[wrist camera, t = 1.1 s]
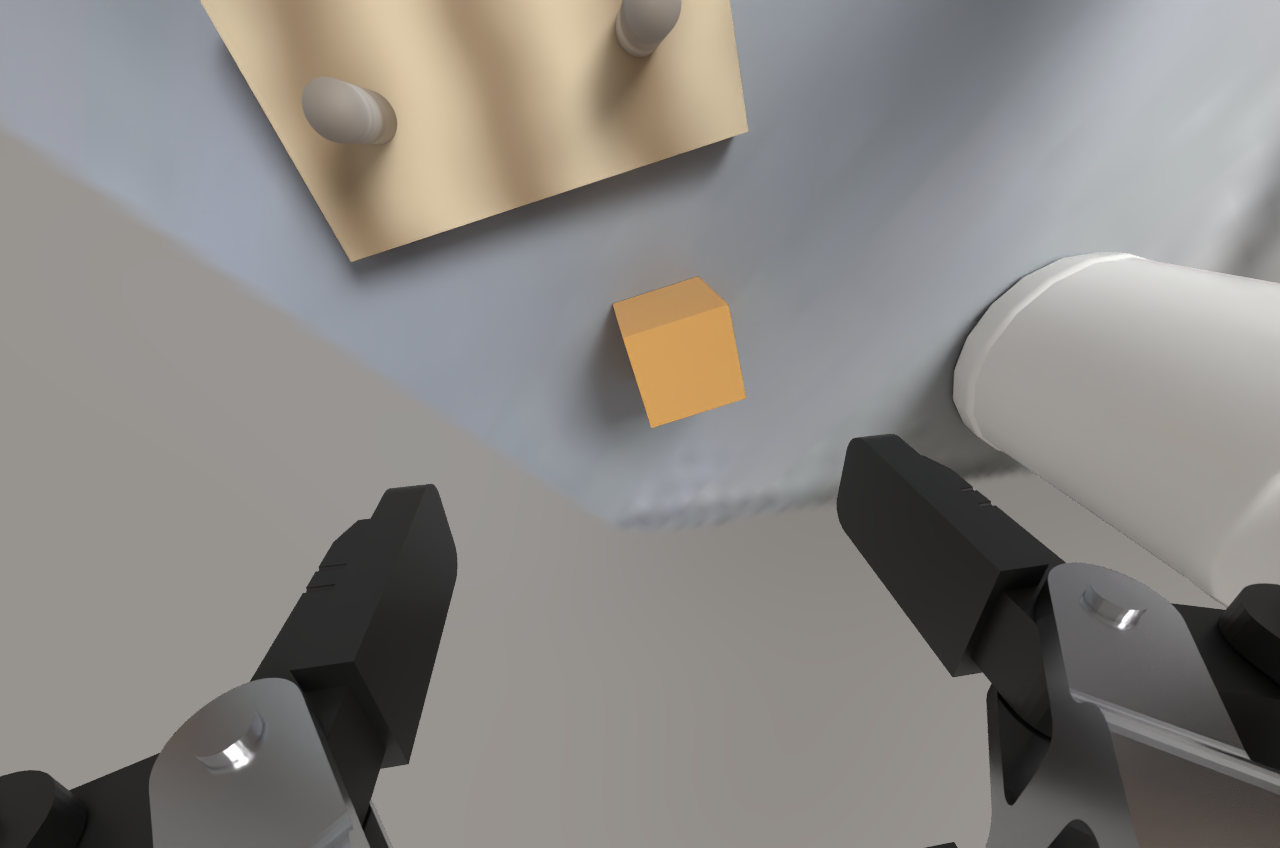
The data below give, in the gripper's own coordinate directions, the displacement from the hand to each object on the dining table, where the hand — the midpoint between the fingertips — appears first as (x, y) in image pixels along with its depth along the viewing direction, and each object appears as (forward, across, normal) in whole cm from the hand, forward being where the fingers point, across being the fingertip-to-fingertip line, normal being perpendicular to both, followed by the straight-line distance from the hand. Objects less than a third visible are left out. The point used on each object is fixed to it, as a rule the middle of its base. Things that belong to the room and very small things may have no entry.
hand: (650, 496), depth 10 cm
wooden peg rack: (+20, +3, -9) cm, 22 cm away
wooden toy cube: (+20, -4, +4) cm, 21 cm away
